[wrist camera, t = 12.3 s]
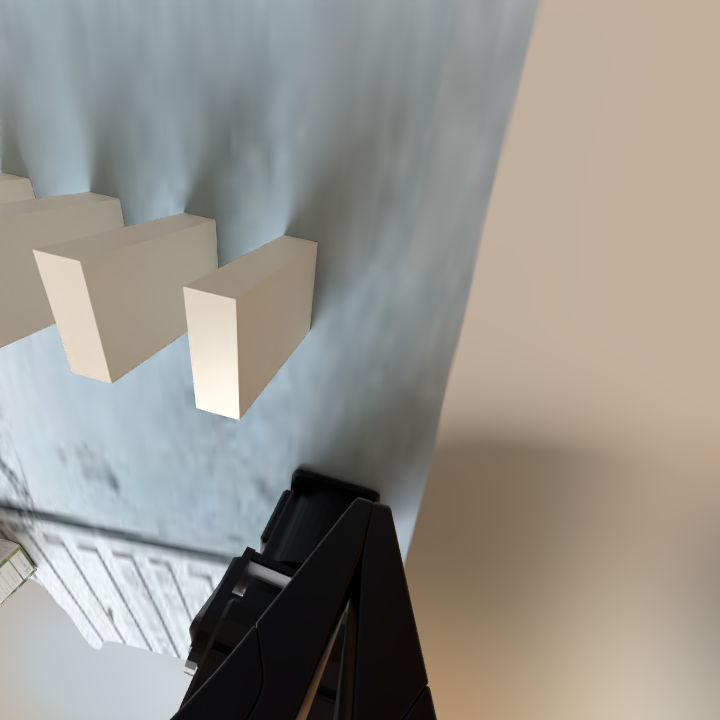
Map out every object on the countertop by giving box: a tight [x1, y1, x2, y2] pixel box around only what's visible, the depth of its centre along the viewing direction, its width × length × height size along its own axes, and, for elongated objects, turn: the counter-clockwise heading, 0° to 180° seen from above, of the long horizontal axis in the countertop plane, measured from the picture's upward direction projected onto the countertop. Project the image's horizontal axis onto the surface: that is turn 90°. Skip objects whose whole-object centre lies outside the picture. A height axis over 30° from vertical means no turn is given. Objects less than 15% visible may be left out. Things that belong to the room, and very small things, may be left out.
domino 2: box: [32, 213, 218, 384], centre depth 17 cm, size 2×5×8 cm, turn 171°
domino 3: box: [183, 235, 318, 420], centre depth 16 cm, size 2×5×8 cm, turn 171°
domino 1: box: [0, 192, 125, 348], centre depth 17 cm, size 2×5×8 cm, turn 171°
